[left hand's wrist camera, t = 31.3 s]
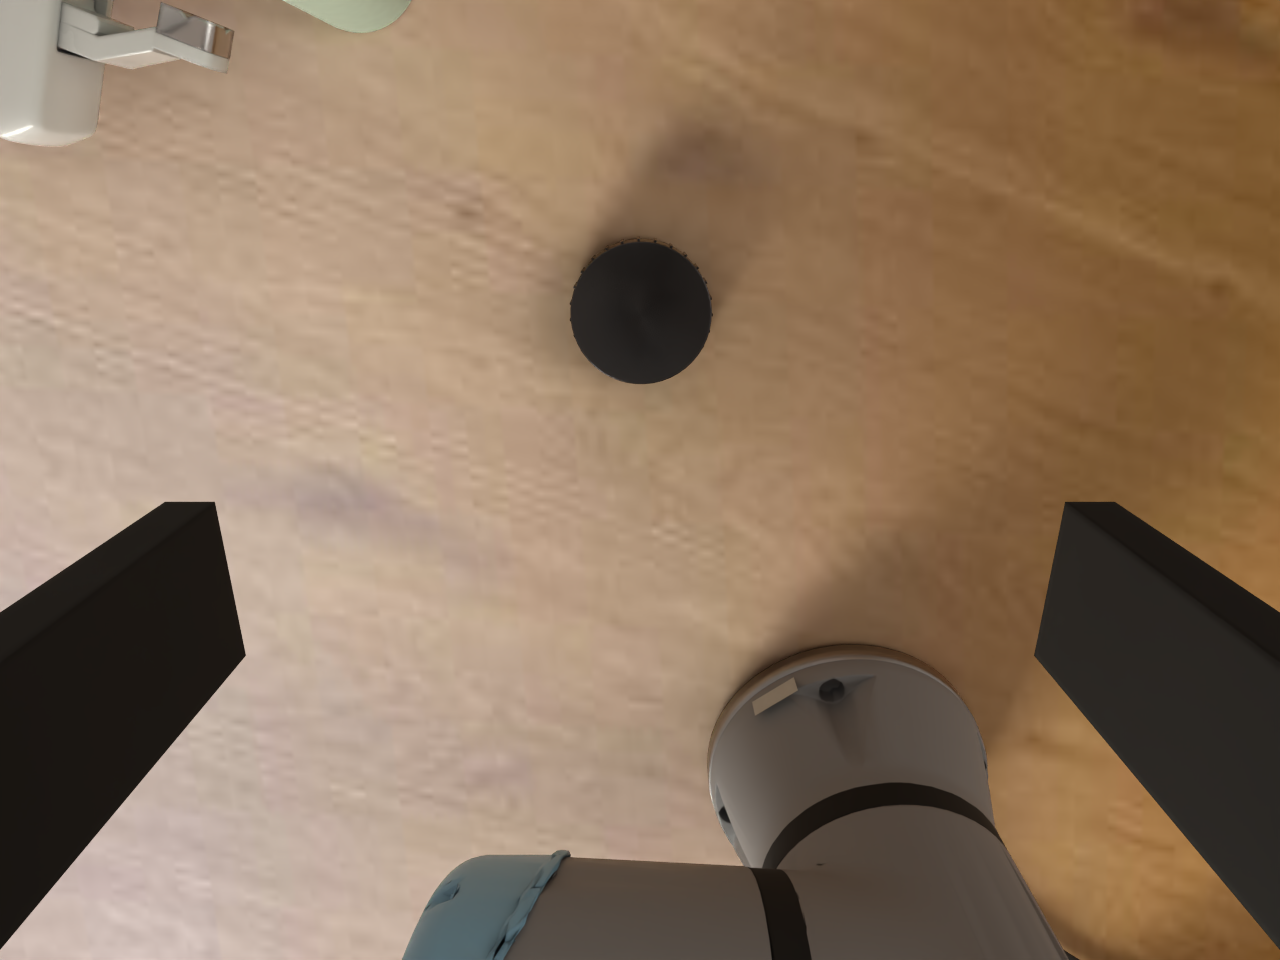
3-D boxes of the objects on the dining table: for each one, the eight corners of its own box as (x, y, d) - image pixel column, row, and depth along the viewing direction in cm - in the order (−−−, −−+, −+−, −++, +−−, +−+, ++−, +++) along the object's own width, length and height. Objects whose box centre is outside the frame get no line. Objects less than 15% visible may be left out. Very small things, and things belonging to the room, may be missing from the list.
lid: (702, 380, 38) (705, 391, 36) (569, 370, 38) (565, 380, 36) (717, 243, 36) (721, 246, 34) (576, 231, 36) (572, 233, 34)
